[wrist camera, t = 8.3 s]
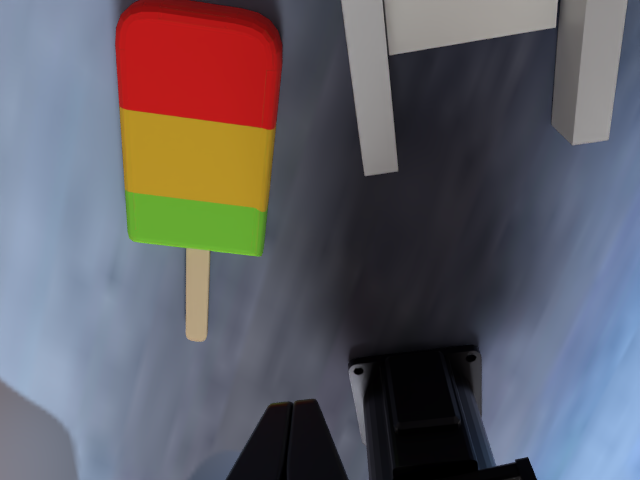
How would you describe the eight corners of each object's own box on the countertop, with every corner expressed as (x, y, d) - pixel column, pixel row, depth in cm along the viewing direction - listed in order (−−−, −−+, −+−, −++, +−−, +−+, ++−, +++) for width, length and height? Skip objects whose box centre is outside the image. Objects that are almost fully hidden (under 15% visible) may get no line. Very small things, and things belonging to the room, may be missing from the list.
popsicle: (288, 11, 18) (285, 23, 17) (256, 332, 26) (251, 360, 25) (126, -13, 18) (106, -4, 16) (143, 319, 26) (131, 347, 24)
